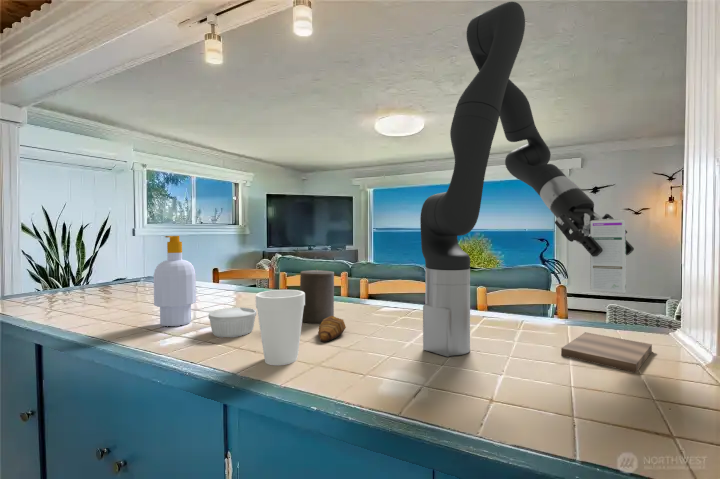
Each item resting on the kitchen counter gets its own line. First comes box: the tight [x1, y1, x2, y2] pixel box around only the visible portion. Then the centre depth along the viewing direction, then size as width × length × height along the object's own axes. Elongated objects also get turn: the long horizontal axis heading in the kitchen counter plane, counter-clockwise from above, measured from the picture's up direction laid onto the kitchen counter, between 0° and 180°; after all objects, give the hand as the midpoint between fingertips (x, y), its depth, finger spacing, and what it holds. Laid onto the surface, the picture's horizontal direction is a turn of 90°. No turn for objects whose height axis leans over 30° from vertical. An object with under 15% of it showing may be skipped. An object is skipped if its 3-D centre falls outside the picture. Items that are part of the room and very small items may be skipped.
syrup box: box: [589, 218, 627, 295], centre depth 72 cm, size 6×6×14 cm
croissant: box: [317, 315, 347, 343], centre depth 86 cm, size 14×7×5 cm, turn 167°
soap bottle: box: [153, 235, 197, 328], centre depth 97 cm, size 10×10×24 cm
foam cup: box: [255, 289, 305, 366], centre depth 69 cm, size 10×9×13 cm
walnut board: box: [560, 331, 653, 374], centre depth 72 cm, size 16×12×2 cm
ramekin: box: [207, 307, 257, 338], centre depth 89 cm, size 11×11×5 cm
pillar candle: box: [299, 266, 335, 325], centre depth 101 cm, size 10×10×15 cm
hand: (614, 253), depth 70 cm, fingers closed on syrup box, 8 cm apart
